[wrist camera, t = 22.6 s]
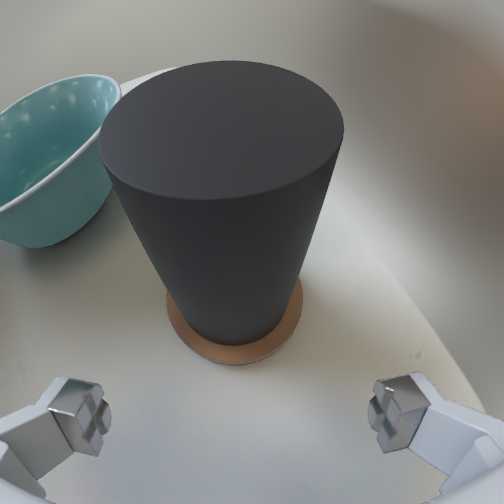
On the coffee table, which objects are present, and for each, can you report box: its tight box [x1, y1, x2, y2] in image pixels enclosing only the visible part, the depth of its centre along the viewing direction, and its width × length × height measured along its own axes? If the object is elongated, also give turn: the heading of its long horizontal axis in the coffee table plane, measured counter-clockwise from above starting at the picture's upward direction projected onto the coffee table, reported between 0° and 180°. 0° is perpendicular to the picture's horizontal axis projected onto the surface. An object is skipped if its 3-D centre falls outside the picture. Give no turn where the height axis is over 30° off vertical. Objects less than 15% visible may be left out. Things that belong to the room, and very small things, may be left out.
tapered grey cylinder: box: [98, 61, 344, 346], centre depth 12 cm, size 6×6×12 cm
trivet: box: [167, 277, 303, 365], centre depth 18 cm, size 8×8×1 cm
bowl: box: [0, 74, 122, 248], centre depth 19 cm, size 16×16×8 cm
